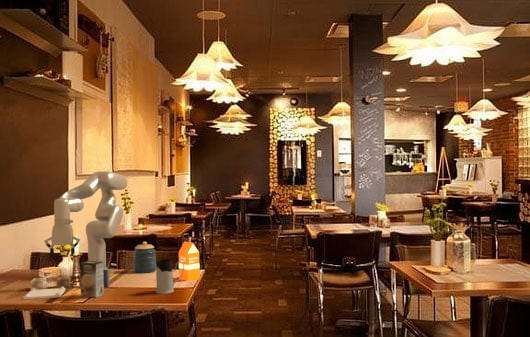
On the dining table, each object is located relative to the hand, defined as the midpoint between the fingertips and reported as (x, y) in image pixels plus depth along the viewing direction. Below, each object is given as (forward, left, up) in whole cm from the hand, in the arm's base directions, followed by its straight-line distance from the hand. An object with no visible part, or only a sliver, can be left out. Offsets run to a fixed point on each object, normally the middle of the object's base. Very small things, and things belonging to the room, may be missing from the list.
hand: (62, 256), depth 273 cm
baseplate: (+6, +15, -16) cm, 23 cm away
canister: (-40, -33, -16) cm, 55 cm away
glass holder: (-54, +24, -16) cm, 61 cm away
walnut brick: (0, 0, -16) cm, 16 cm away
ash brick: (+12, 0, -16) cm, 20 cm away
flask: (-19, +3, -16) cm, 25 cm away
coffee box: (-17, +24, -16) cm, 33 cm away
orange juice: (-65, -3, -16) cm, 67 cm away
